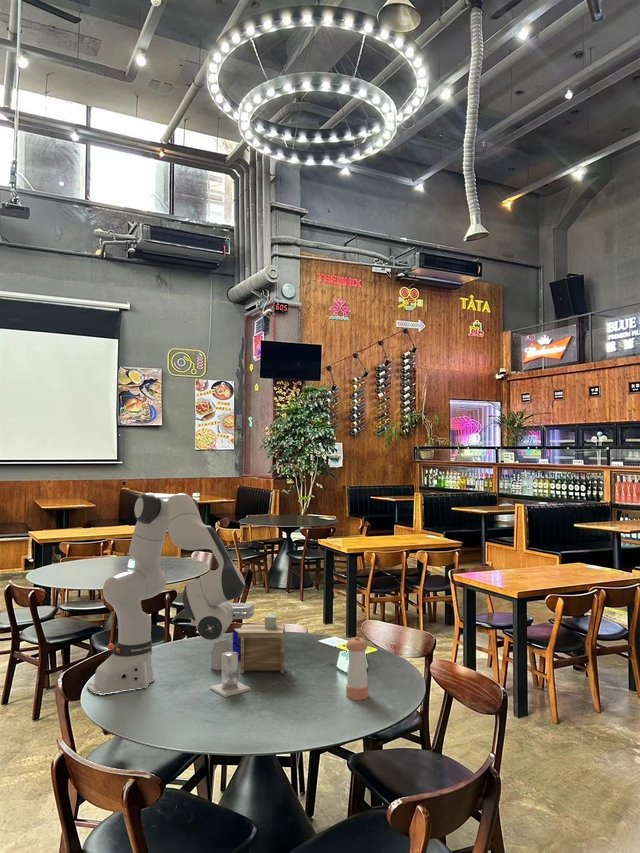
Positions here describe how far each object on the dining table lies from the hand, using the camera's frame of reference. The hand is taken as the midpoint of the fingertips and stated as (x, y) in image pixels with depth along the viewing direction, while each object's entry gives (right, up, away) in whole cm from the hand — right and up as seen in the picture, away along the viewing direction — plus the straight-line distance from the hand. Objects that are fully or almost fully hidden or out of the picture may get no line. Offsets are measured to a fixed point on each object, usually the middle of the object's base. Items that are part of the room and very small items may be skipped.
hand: (225, 605), depth 204 cm
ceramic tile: (0, -30, +6) cm, 31 cm away
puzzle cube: (+2, -33, +44) cm, 55 cm away
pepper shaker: (+44, -30, 0) cm, 53 cm away
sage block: (+13, -15, +24) cm, 31 cm away
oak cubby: (+10, -32, +21) cm, 39 cm away
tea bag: (-6, -32, +29) cm, 44 cm away
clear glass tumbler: (0, -30, +6) cm, 30 cm away
